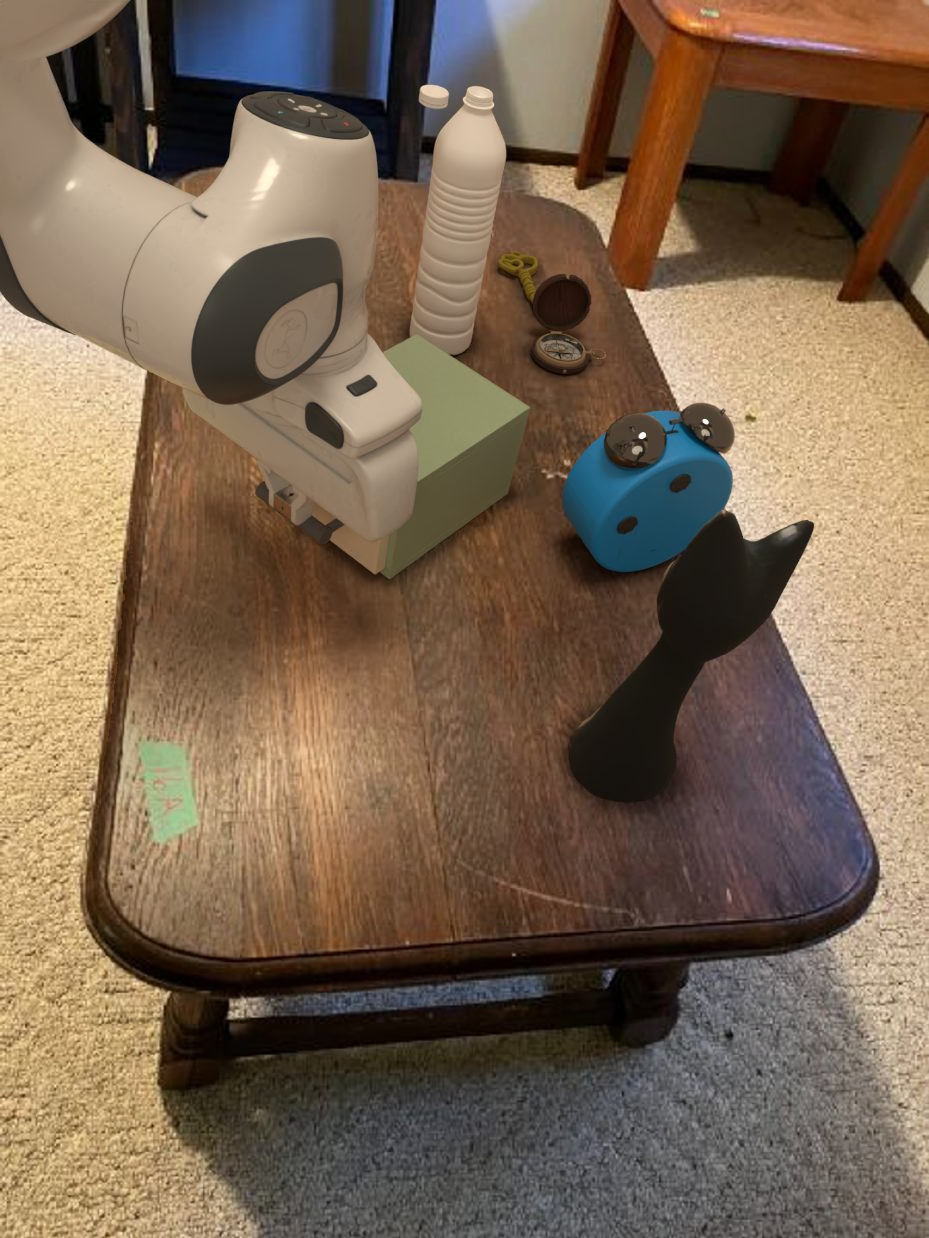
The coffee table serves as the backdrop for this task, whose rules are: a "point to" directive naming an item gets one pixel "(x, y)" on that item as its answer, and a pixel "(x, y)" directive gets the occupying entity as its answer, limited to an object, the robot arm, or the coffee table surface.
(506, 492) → the cabinet
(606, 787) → the figurine
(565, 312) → the compass
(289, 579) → the coffee table surface
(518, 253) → the key
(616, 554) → the alarm clock
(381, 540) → the drawer
